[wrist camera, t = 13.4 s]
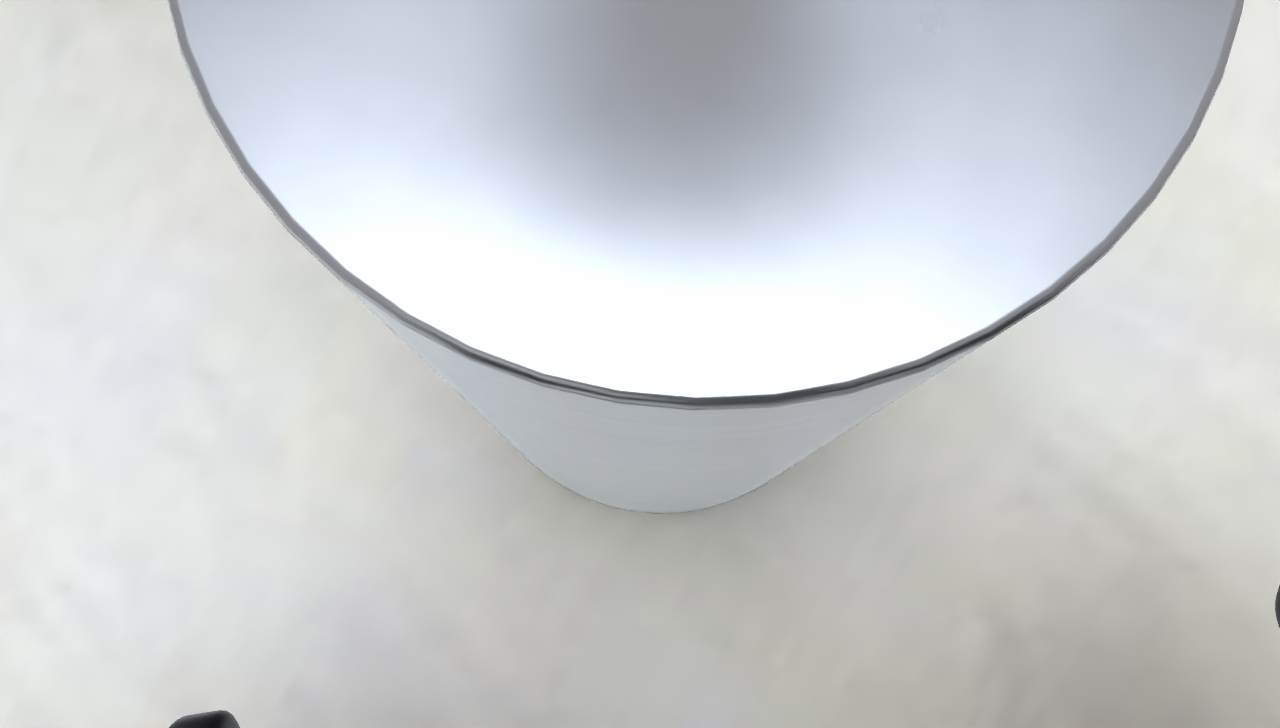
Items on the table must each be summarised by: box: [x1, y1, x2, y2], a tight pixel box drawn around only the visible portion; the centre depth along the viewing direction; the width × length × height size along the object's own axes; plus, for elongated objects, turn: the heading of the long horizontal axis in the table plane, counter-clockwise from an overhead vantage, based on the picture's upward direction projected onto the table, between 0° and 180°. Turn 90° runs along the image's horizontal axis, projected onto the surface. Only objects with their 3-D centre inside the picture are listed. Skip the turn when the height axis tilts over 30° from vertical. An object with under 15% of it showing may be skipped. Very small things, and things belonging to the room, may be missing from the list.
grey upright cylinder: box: [168, 0, 1244, 513], centre depth 12 cm, size 6×6×12 cm
